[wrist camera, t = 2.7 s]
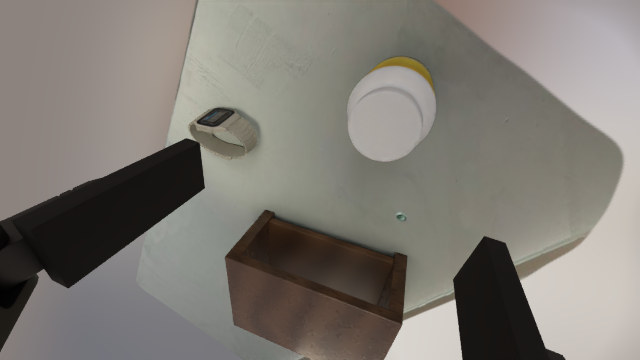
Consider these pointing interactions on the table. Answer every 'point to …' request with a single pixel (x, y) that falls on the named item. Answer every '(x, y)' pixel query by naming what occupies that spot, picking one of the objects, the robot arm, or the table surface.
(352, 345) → the shelf
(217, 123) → the wristwatch
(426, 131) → the pill bottle
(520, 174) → the table surface
